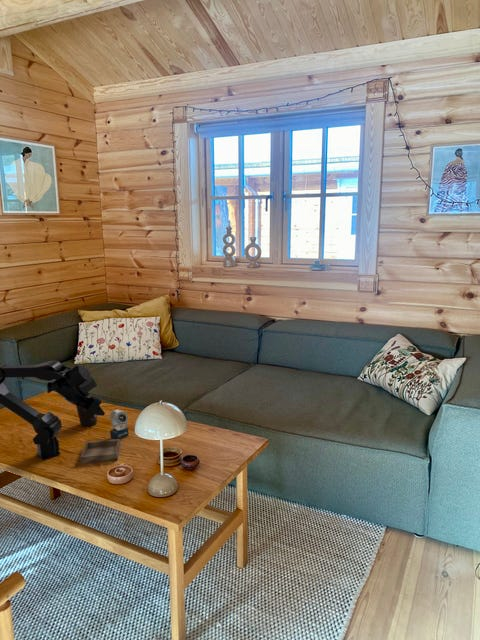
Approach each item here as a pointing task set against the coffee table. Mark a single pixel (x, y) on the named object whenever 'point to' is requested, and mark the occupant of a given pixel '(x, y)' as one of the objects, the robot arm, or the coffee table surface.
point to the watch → (121, 419)
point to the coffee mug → (86, 418)
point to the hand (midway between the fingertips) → (97, 410)
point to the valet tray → (100, 451)
